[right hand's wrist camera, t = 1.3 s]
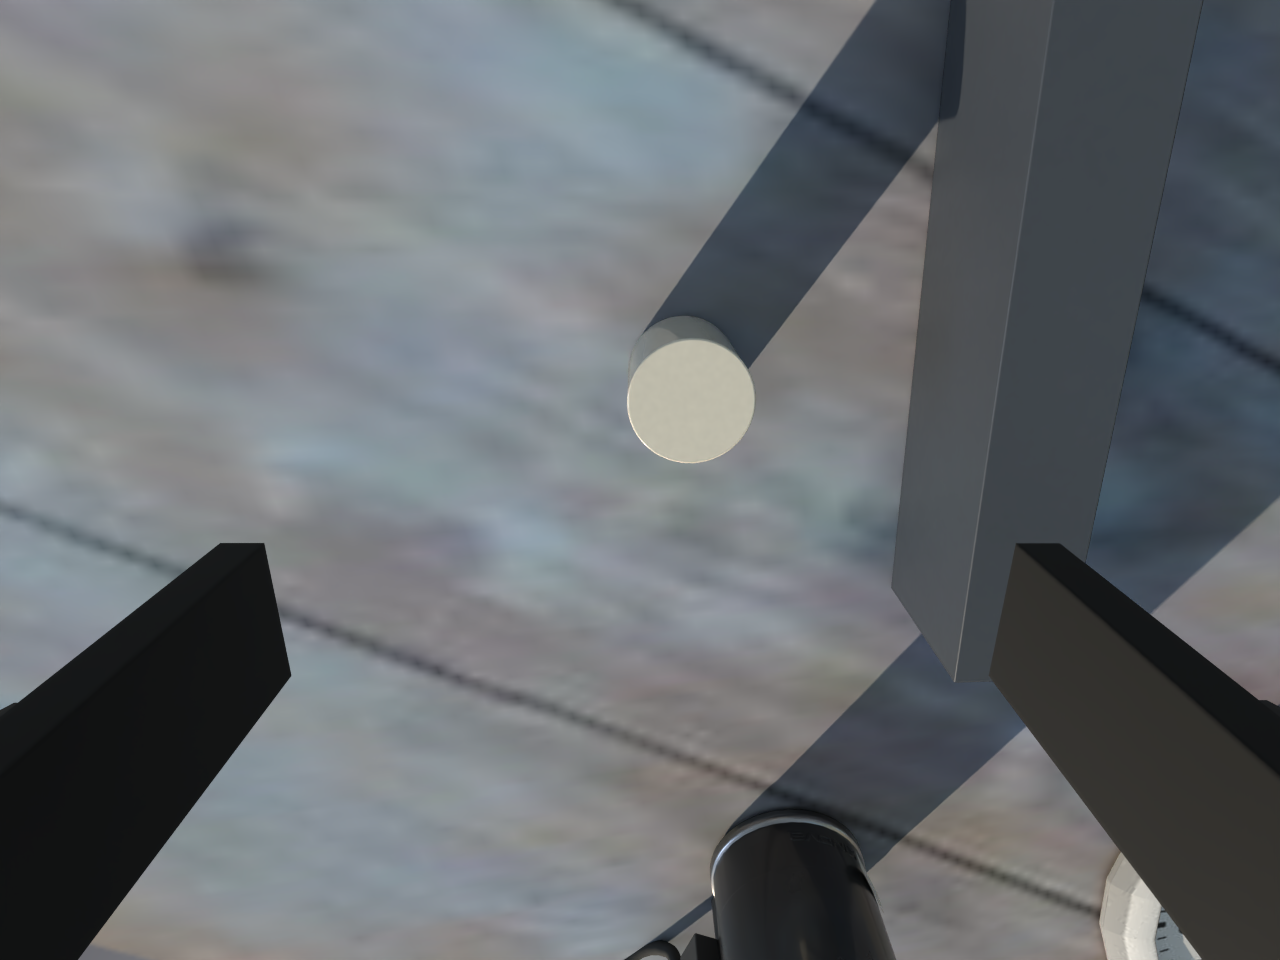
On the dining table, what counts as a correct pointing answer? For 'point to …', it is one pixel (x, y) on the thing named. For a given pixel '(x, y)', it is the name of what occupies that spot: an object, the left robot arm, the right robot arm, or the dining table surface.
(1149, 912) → the wall clock
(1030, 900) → the dining table surface
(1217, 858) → the right robot arm
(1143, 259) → the bar
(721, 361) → the off-white cylinder
